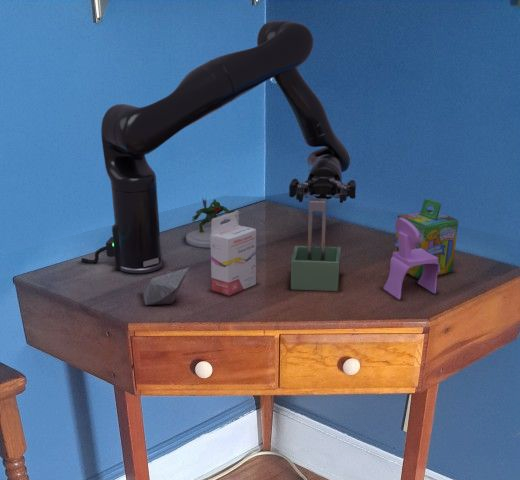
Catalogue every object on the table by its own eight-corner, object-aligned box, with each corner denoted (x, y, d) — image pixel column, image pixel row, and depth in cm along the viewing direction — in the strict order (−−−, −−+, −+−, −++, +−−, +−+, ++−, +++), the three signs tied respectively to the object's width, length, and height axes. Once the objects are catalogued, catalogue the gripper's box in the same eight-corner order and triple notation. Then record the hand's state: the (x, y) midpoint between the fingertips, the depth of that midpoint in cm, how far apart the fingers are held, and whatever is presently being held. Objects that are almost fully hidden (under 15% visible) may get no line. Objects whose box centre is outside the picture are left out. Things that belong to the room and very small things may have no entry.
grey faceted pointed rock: (124, 301, 154) (134, 273, 160) (146, 324, 157) (154, 295, 164) (173, 275, 149) (181, 246, 155) (195, 298, 152) (201, 270, 159)
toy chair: (440, 295, 159) (448, 220, 152) (401, 301, 156) (407, 225, 149) (418, 280, 166) (424, 209, 159) (380, 286, 163) (385, 213, 156)
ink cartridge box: (229, 297, 159) (227, 223, 152) (211, 291, 162) (208, 219, 155) (257, 284, 165) (257, 213, 158) (239, 279, 167) (237, 209, 161)
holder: (290, 289, 162) (291, 260, 159) (294, 273, 170) (295, 245, 168) (337, 291, 161) (338, 262, 158) (339, 274, 169) (340, 247, 167)
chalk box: (391, 268, 172) (396, 199, 166) (423, 260, 177) (429, 193, 170) (421, 281, 166) (427, 210, 159) (454, 272, 170) (461, 203, 163)
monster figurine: (198, 250, 183) (196, 206, 179) (178, 236, 193) (175, 193, 188) (245, 242, 188) (245, 199, 184) (223, 228, 198) (222, 187, 193)
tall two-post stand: (304, 284, 164) (305, 202, 156) (305, 278, 168) (307, 197, 160) (325, 285, 164) (328, 202, 156) (326, 279, 167) (329, 197, 159)
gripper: (293, 161, 183) (287, 179, 168) (357, 162, 181) (356, 180, 167) (293, 194, 186) (286, 214, 172) (355, 195, 185) (354, 216, 170)
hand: (321, 197), depth 169 cm, fingers open, 8 cm apart
